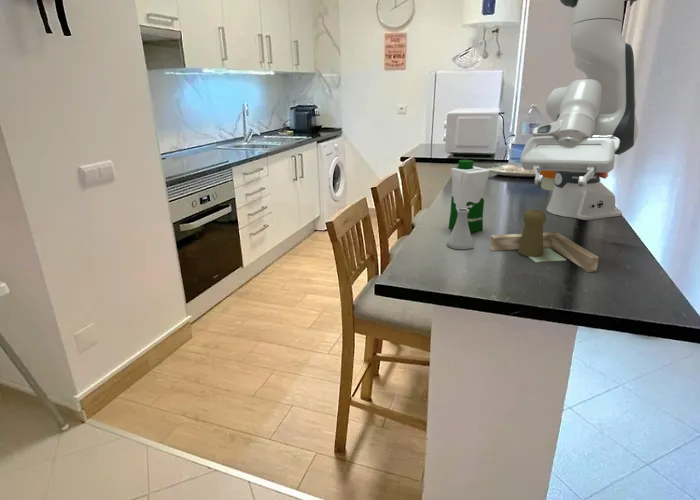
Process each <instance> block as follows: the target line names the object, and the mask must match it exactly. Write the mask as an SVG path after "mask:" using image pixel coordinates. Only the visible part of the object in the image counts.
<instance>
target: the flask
mask: <svg viewBox="0 0 700 500" xmlns="http://www.w3.org/2000/svg"><path fill="white" fill-rule="evenodd" d="M457 212H458V217H457V220H456V224H455V226H454V228H453V230H452V231H451V233H450V235H449V237H448V239H447V242H446V246H447V247H449V248H451V249H454V250H469V249H473V248H474V242H473V238H472V234H470V230H469V226H468V219H467V215H468V213H469V209H466V208H459V209H457Z"/></svg>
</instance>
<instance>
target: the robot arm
mask: <svg viewBox="0 0 700 500" xmlns="http://www.w3.org/2000/svg"><path fill="white" fill-rule="evenodd" d="M628 1H629V7H632V6H633V4H634V2H636V1H638V0H560V3H561V4H562V5H564V6H565V7H570V8H575V10H574V14H573V20H572V26H571V34H570V48H571V51H572V53H573V54H574V58H573V59H574V60H573V63H574V65H575V68H576V69H577V70H579V71H580V72H582V73H583V74H584V75H585V76H586V78H581V79H576V80H574V81H572V82H571V83H570V84H569V85H567V86H561V87H555V88H554V89H553V90H552V91H551V92H550V94H549V95H547V99H546V102H545V111H546V114H547V116H548V117H549V118H550V120H552V121H553V122H550V123H548V124H544V125H540V126H536V127H535V128H533V129H532V137H530V138H529V139H528V140H527V141H526V143H525V145H524V148H523V149H522V152H521V155H520V158H519V159H520V165H521V167H522V169H523V170H525V171H533V172H534V173H533V174H534V176H535V178H534V185H541V184H542V182H543V175H540V173H541V170H546V171H556V174H555V186H554V190H553V191H552V194H551V197H550V199H549V202H548V204H547V206H546V211H547V212H548V213H550V214H553V215H558V216H561V217H565V218H566V217H567V218H572V219H573V218H575V219H579V220H583V221H589V220H590V221H591V220H598V219H604V218H606V219H607V218H611V217H620V216H622V215H623V212H622V210H621V209H619V208H618V207H616V196H615V194H614V192H612V191H611V190H610V189H609V188H608V187H606V186H605V185H604V184H603V183H602V182H601V179H600V178H602V179H603V180H604V179H605V180H606V179H607V178H608V176H609V173H610V172H612V170H614V168H615V159H616V155H618V156H619V155H622V154H624V153H626V152H628V151H629V150H630V149H632V148H633V147H634V146H635V145H636V142H637V140H638V135H639V127H638V120H637V116H636V106H637V98H636V91H635V90H636V86H635V85H636V83H635V82H636V79H635V75H636V73H635V57H634V56H635V55H634V50H633V47H632V45H631V44H630V43H628V42H626V41H625V39H624V36H623V33H622V28H623V19H624V9H625V2H628Z"/></svg>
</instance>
